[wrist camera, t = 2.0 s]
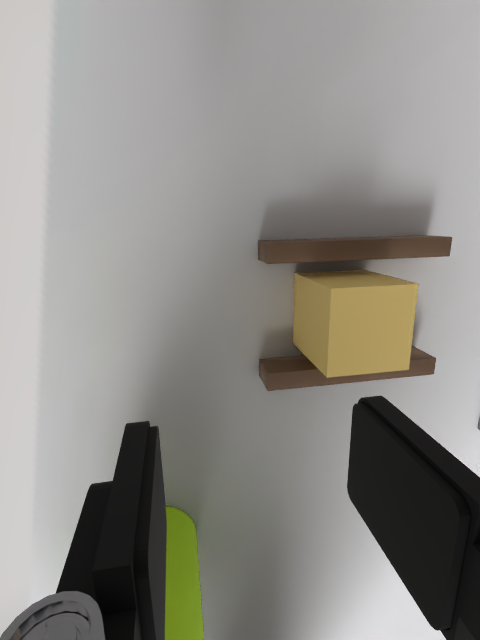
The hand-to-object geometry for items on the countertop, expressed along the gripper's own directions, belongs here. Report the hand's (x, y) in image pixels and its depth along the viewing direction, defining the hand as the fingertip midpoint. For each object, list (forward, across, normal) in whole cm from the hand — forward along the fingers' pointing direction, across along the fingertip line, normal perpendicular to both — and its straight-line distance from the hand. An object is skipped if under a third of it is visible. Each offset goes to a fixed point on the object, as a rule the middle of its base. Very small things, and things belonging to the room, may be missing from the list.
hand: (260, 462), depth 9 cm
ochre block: (+16, -8, 0) cm, 18 cm away
